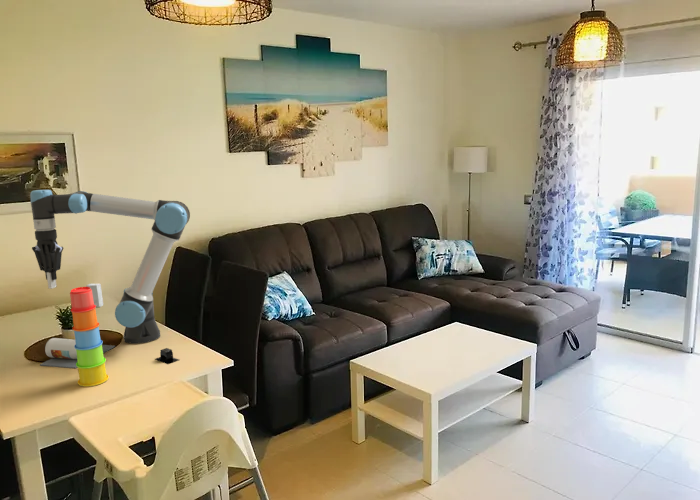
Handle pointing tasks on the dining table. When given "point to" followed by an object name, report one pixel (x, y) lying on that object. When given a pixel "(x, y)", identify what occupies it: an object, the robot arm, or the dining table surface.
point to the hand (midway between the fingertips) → (52, 287)
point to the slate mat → (69, 360)
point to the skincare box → (96, 294)
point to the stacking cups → (87, 338)
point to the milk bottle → (61, 348)
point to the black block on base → (166, 356)
